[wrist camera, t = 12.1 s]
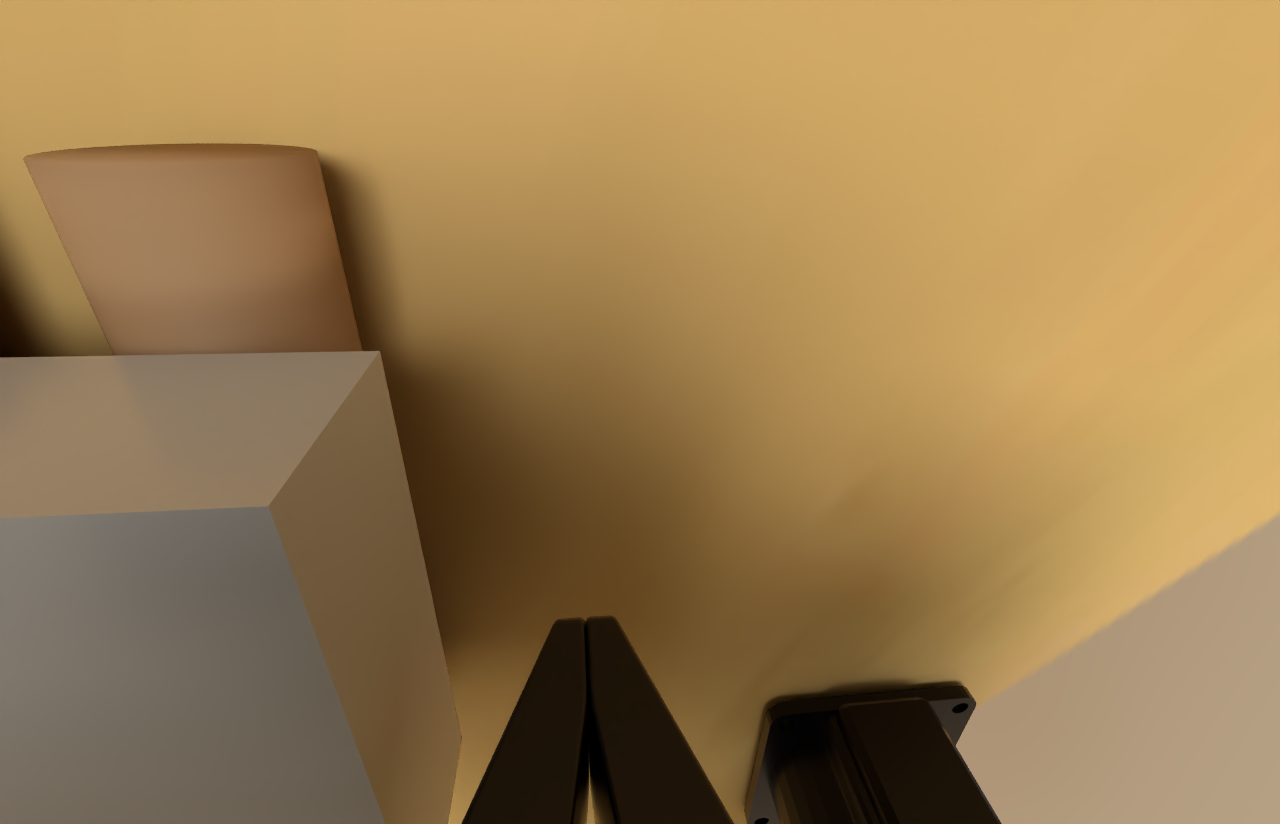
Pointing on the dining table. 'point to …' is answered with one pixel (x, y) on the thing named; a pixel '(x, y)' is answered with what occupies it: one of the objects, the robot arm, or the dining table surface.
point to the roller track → (201, 246)
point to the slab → (214, 596)
